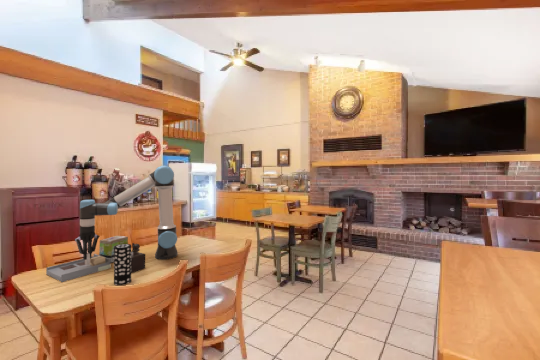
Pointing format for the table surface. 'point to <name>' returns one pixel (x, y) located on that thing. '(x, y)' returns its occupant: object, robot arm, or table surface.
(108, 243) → the tea box
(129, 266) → the spotted tube
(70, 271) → the track
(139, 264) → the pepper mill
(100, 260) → the block
